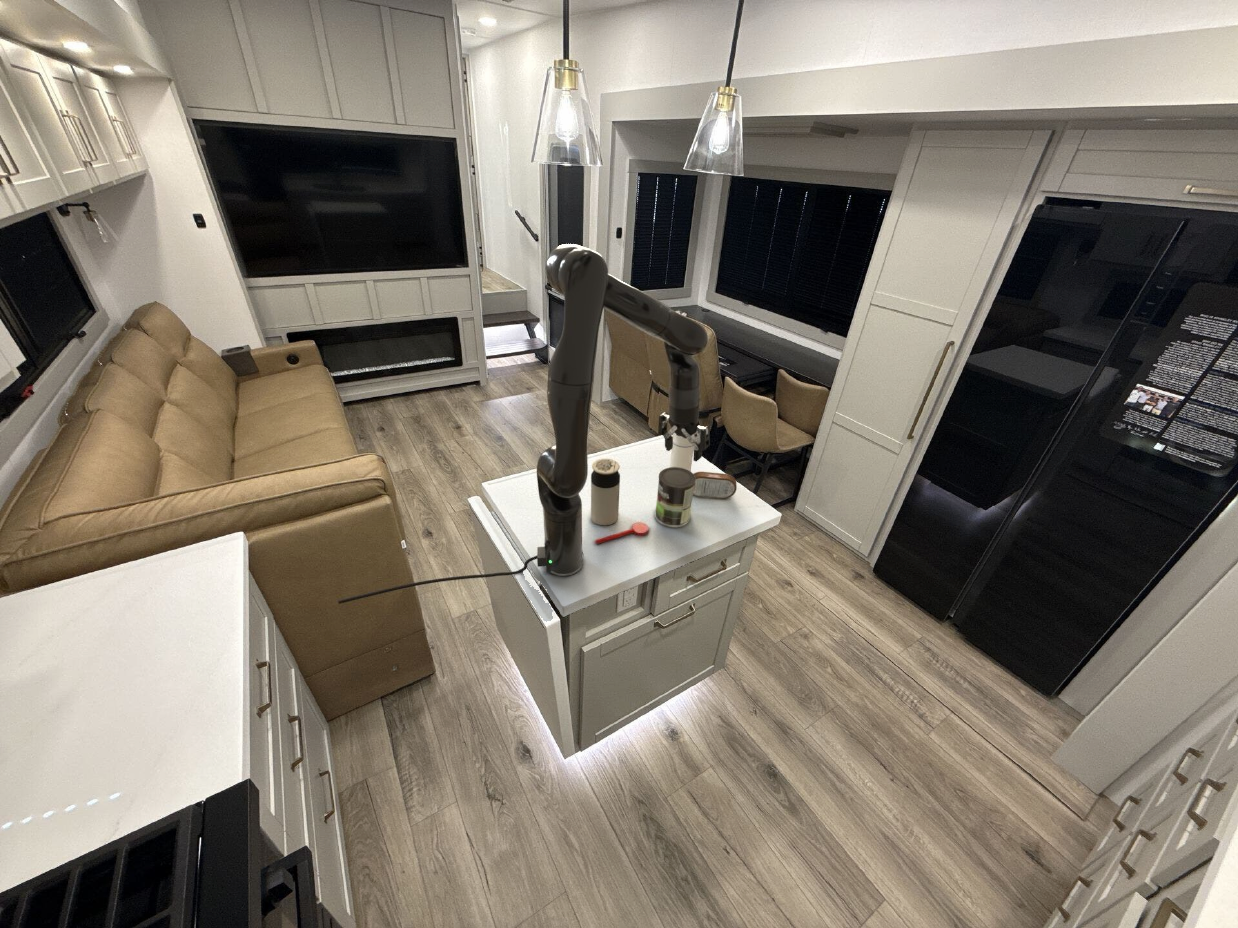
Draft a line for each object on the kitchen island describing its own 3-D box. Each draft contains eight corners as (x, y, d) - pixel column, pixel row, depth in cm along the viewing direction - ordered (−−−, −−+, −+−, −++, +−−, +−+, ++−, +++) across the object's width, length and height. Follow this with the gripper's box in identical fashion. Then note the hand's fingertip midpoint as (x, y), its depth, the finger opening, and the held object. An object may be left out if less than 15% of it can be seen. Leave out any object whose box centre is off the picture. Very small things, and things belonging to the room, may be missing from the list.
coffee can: (664, 530, 136) (668, 490, 129) (649, 509, 144) (652, 470, 137) (696, 523, 140) (702, 483, 132) (680, 503, 148) (685, 464, 140)
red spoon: (598, 548, 129) (598, 545, 128) (591, 538, 133) (591, 535, 132) (651, 532, 135) (651, 529, 135) (643, 523, 139) (643, 520, 138)
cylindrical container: (666, 477, 159) (673, 409, 146) (671, 466, 165) (678, 400, 151) (688, 482, 157) (697, 413, 144) (691, 470, 163) (701, 403, 150)
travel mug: (587, 523, 138) (587, 470, 128) (595, 506, 144) (595, 455, 135) (614, 528, 136) (616, 475, 127) (621, 511, 143) (623, 460, 133)
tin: (733, 495, 152) (738, 473, 147) (734, 501, 149) (739, 479, 145) (686, 491, 153) (689, 469, 148) (686, 497, 150) (689, 474, 146)
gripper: (651, 399, 120) (652, 452, 130) (701, 414, 112) (698, 470, 122) (668, 387, 125) (668, 440, 134) (717, 401, 117) (713, 456, 126)
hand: (682, 454), depth 128 cm, fingers open, 8 cm apart
